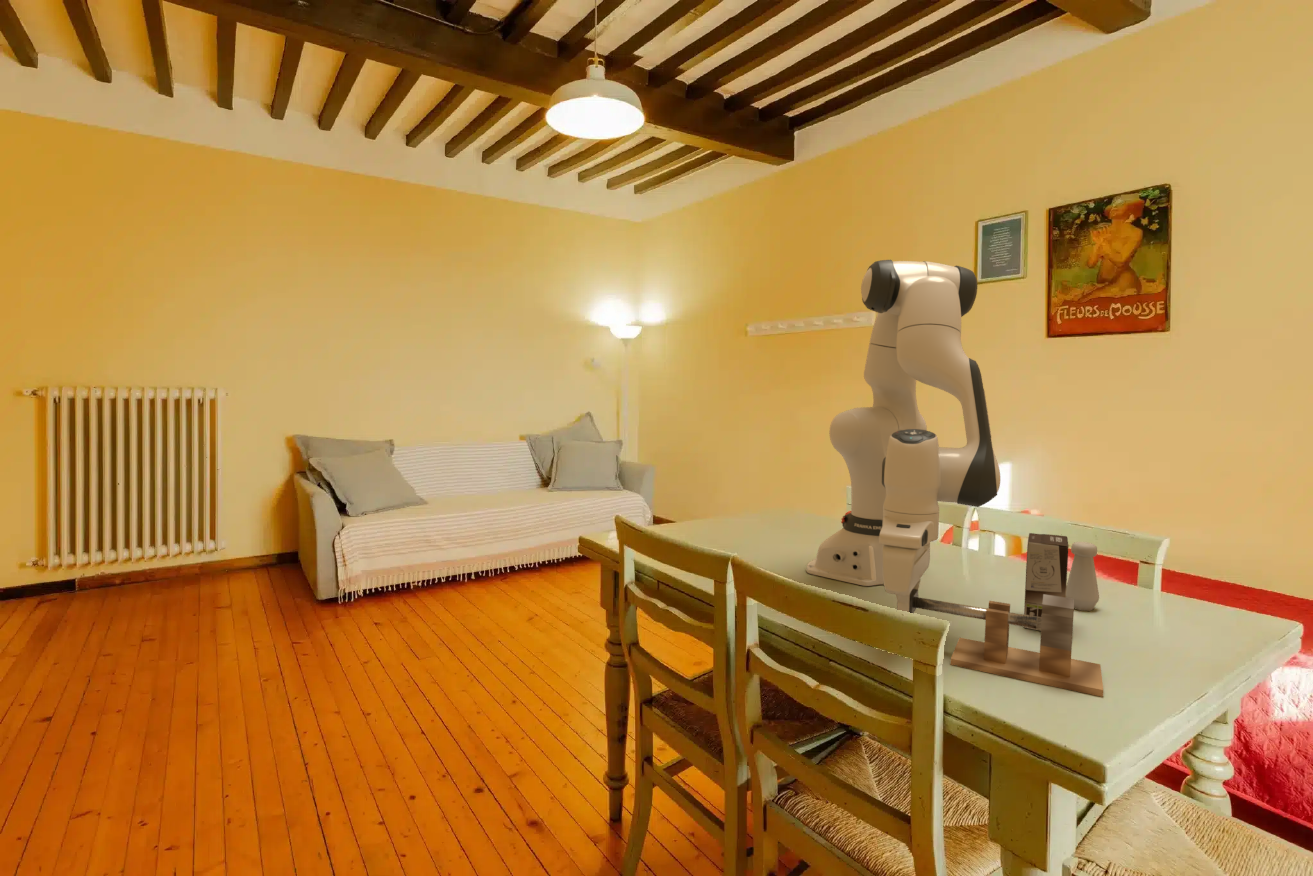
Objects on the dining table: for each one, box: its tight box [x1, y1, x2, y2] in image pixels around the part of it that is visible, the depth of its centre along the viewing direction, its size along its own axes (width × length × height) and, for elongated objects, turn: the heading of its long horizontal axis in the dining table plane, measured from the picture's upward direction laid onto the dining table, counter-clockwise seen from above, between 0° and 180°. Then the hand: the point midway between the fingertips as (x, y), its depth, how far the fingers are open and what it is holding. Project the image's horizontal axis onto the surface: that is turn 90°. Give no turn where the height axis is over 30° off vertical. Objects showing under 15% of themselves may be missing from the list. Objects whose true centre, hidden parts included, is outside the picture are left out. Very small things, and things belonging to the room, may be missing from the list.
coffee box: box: [1023, 532, 1070, 632], centre depth 120 cm, size 9×6×16 cm
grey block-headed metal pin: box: [896, 589, 1037, 629], centre depth 106 cm, size 20×5×3 cm, turn 58°
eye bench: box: [950, 594, 1104, 698], centre depth 102 cm, size 20×10×11 cm, turn 58°
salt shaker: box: [1066, 541, 1100, 612], centre depth 128 cm, size 6×6×13 cm
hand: (907, 606), depth 111 cm, fingers closed on grey block-headed metal pin, 5 cm apart
